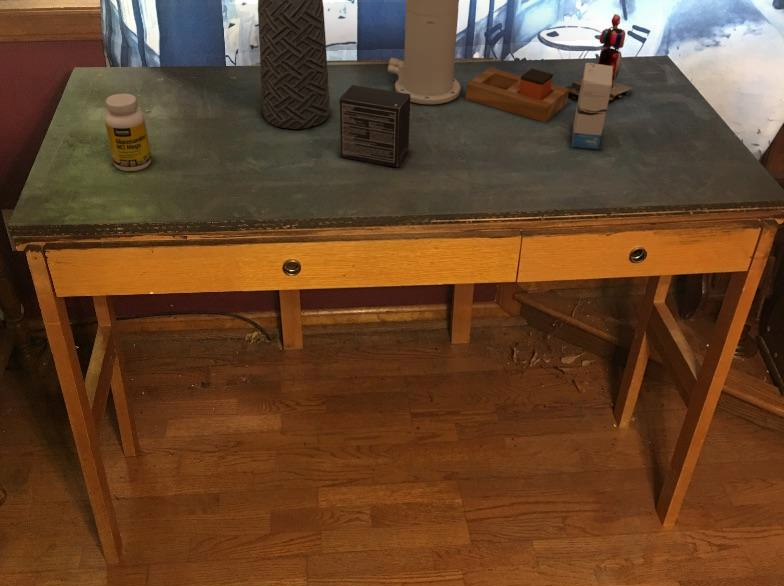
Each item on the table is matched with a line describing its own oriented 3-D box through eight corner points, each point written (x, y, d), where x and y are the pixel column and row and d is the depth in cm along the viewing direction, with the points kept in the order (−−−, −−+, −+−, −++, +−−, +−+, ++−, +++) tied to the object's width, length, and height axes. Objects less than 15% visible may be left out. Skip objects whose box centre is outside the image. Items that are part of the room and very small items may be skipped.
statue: (589, 85, 172) (608, 5, 163) (629, 98, 167) (651, 17, 158) (558, 94, 165) (575, 11, 156) (599, 109, 160) (620, 24, 151)
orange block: (516, 107, 161) (520, 76, 157) (527, 99, 164) (531, 68, 160) (537, 113, 159) (542, 82, 155) (548, 105, 162) (553, 74, 158)
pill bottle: (119, 175, 140) (105, 110, 132) (109, 159, 144) (95, 95, 136) (156, 167, 142) (145, 103, 134) (146, 151, 146) (134, 88, 138)
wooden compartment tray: (545, 122, 157) (547, 106, 155) (465, 99, 163) (466, 83, 161) (566, 104, 162) (569, 88, 160) (488, 82, 169) (490, 67, 167)
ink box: (599, 150, 149) (613, 84, 141) (570, 147, 150) (582, 81, 142) (600, 128, 155) (613, 64, 147) (572, 125, 156) (584, 61, 148)
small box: (410, 151, 148) (412, 92, 140) (398, 169, 143) (400, 108, 136) (352, 141, 150) (352, 82, 143) (339, 157, 145) (338, 98, 138)
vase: (251, 122, 154) (235, -48, 135) (282, 96, 162) (271, -68, 143) (312, 135, 151) (305, -37, 132) (340, 108, 159) (337, -58, 140)
